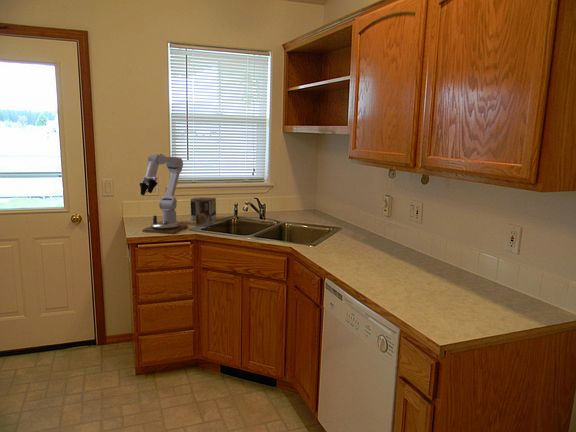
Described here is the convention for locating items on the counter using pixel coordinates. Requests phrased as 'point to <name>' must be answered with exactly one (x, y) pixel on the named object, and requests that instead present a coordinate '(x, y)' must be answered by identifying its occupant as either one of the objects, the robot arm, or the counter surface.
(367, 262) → the counter surface
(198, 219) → the coffee box
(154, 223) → the handwheel
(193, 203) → the dark piece
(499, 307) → the counter surface
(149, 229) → the wheel base
